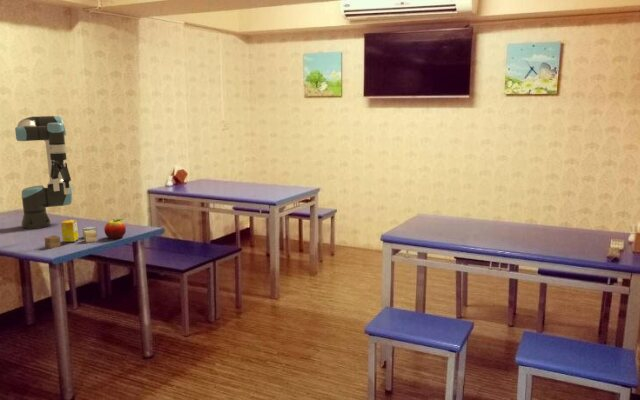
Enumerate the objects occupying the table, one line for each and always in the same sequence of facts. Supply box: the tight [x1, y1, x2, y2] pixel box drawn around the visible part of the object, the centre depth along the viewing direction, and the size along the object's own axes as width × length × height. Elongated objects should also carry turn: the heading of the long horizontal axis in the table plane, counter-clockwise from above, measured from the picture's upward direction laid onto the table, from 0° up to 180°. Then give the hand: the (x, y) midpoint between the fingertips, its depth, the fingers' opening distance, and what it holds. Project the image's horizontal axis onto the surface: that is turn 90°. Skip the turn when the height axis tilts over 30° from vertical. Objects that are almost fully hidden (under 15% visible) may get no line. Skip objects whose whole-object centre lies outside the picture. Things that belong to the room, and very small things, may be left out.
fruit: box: [103, 218, 127, 240], centre depth 279 cm, size 11×11×10 cm
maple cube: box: [84, 230, 98, 243], centre depth 273 cm, size 5×5×5 cm
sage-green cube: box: [82, 226, 98, 239], centre depth 282 cm, size 5×5×5 cm
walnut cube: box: [44, 235, 61, 249], centre depth 263 cm, size 5×5×5 cm
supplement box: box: [60, 219, 80, 244], centre depth 272 cm, size 6×6×11 cm
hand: (61, 192), depth 277 cm, fingers open, 13 cm apart
